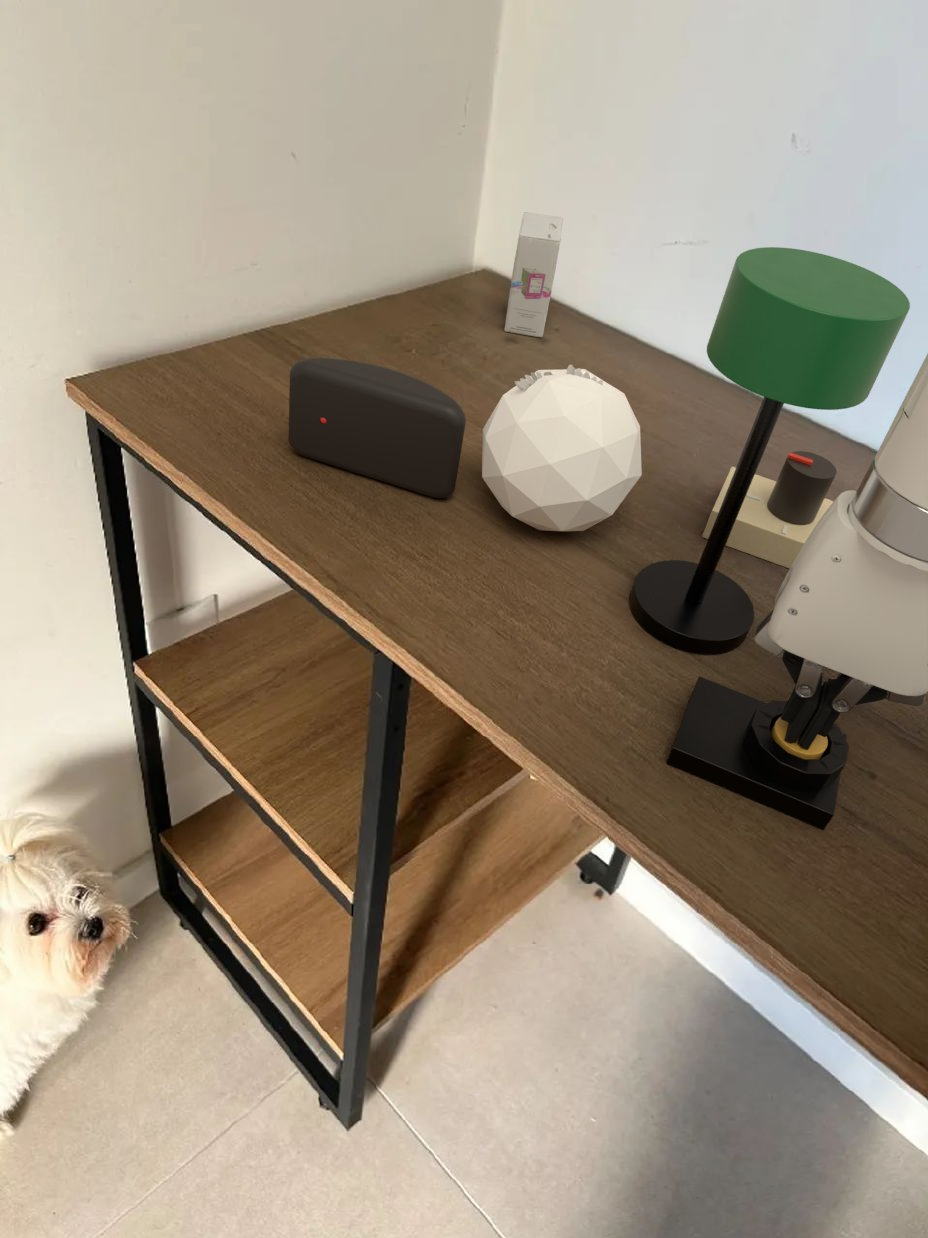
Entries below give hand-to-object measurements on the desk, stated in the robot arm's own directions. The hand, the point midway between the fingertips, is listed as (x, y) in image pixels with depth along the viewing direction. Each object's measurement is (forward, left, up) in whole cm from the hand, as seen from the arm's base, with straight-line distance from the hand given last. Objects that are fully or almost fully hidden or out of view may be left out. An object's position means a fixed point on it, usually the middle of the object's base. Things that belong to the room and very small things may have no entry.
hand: (798, 731), depth 63 cm
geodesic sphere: (+25, -19, -4) cm, 31 cm away
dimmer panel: (+5, -29, -4) cm, 30 cm away
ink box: (+42, -57, -4) cm, 71 cm away
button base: (+2, 0, -4) cm, 4 cm away
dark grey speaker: (+41, -15, -4) cm, 44 cm away
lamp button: (0, 0, -2) cm, 2 cm away
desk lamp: (+10, -13, -4) cm, 17 cm away
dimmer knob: (+5, -29, -1) cm, 29 cm away
